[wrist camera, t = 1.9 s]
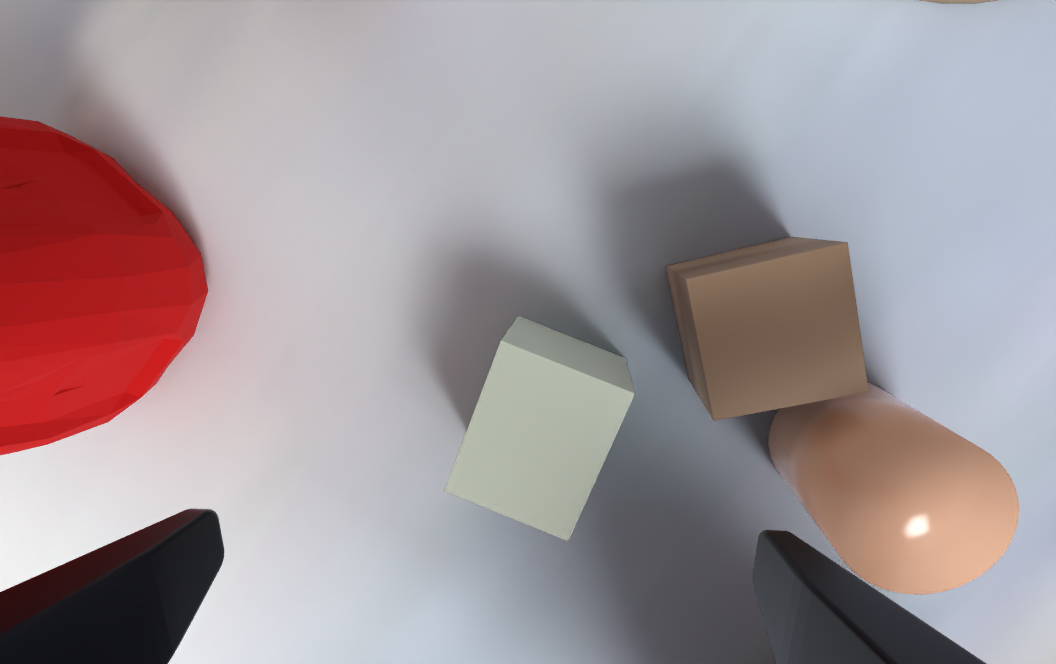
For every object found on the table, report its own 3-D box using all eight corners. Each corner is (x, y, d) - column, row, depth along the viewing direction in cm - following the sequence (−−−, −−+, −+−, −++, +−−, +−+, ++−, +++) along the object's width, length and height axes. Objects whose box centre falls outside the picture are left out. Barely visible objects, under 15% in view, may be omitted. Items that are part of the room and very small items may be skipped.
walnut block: (808, 354, 18) (868, 392, 14) (687, 378, 19) (713, 420, 15) (790, 236, 17) (847, 242, 14) (665, 265, 18) (686, 279, 14)
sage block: (572, 478, 20) (568, 541, 16) (471, 437, 20) (443, 491, 16) (625, 357, 19) (634, 393, 15) (518, 315, 19) (500, 340, 15)
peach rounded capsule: (887, 506, 19) (990, 607, 14) (757, 488, 19) (813, 579, 14) (919, 386, 18) (1042, 449, 13) (782, 369, 18) (851, 424, 13)
